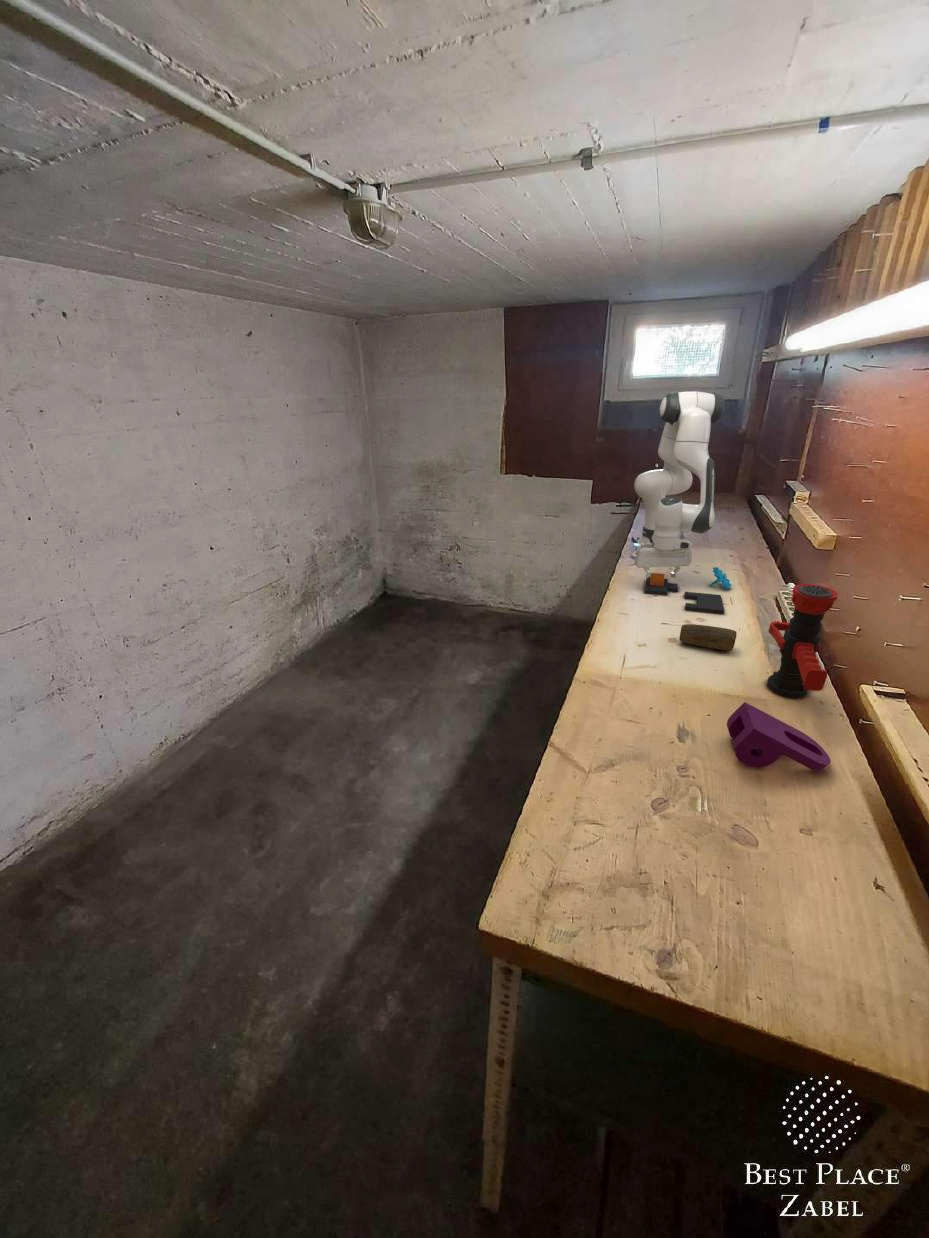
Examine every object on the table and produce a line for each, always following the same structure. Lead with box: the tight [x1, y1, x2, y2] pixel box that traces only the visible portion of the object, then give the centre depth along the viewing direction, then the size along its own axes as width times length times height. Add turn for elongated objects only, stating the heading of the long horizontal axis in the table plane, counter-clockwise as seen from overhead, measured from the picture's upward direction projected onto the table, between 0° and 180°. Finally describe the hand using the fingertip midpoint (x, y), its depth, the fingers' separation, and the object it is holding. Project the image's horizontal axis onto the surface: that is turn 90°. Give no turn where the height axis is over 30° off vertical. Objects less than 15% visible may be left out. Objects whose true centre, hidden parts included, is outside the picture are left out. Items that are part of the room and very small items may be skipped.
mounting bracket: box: [726, 701, 832, 772], centre depth 102 cm, size 10×8×18 cm
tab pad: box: [643, 572, 679, 596], centre depth 185 cm, size 14×12×6 cm
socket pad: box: [683, 591, 725, 615], centre depth 172 cm, size 14×12×2 cm
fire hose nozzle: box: [766, 583, 839, 699], centre depth 117 cm, size 10×28×25 cm
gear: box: [709, 566, 732, 590], centre depth 185 cm, size 11×6×10 cm
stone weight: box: [678, 623, 738, 651], centre depth 144 cm, size 15×7×7 cm, turn 65°
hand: (660, 577), depth 185 cm, fingers open, 8 cm apart
